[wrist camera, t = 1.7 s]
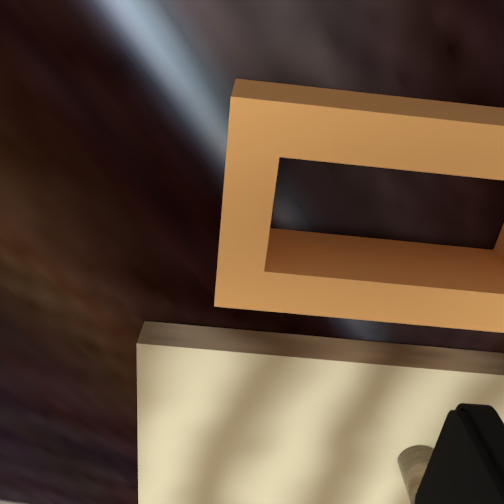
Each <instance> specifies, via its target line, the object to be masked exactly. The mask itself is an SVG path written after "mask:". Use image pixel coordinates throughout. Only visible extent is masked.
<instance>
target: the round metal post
mask: <svg viewBox="0 0 504 504" xmlns="http://www.w3.org/2000/svg"><path fill="white" fill-rule="evenodd" d="M433 450H434V449H433V448H431V447H429V446H426V445H415V446H411V447H408V448H406V449H405V450H403V451H402V452H401V453H400V455H399V456H398V465H399V468H400V471H401V475H402V478H403V481H404V485H405V488H406V491H407V494H408V498H409V501H410V504H415V496H416V493H417V490H418V488H419V485H420V483H421V480H422V478H423V475H424V473H425V470H426V468H427V465H428V462H429V460H430V457H431V455H432V452H433Z"/></svg>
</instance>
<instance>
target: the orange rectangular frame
mask: <svg viewBox="0 0 504 504" xmlns="http://www.w3.org/2000/svg"><path fill="white" fill-rule="evenodd" d="M279 157H283V158H293V159H303V160H312V161H322V162H332V163H341V164H351V165H360V166H370V167H380V168H389V169H399V170H409V171H418V172H428V173H437V174H447V175H457V176H466V177H476V178H486V179H495V180H504V108H500V107H491V106H482V105H473V104H463V103H454V102H445V101H436V100H427V99H418V98H409V97H400V96H391V95H382V94H373V93H363V92H354V91H345V90H336V89H327V88H318V87H309V86H300V85H291V84H282V83H273V82H264V81H254V80H245V79H236V80H235V83H234V87H233V90H232V94H231V100H230V113H229V126H228V138H227V151H226V163H225V176H224V188H223V201H222V213H221V226H220V238H219V251H218V263H217V276H216V288H215V301H214V306H215V307H226V308H237V309H248V310H259V311H270V312H281V313H292V314H303V315H314V316H325V317H336V318H347V319H358V320H369V321H380V322H391V323H402V324H413V325H424V326H435V327H446V328H457V329H468V330H479V331H490V332H501V333H504V223H503V226H502V228H501V231H500V234H499V236H498V239H497V242H496V244H495V247H494V249H493V250H490V249H479V248H469V247H459V246H449V245H439V244H428V243H418V242H408V241H398V240H387V239H377V238H367V237H357V236H347V235H336V234H326V233H316V232H306V231H296V230H285V229H275V228H270V224H271V217H272V209H273V202H274V194H275V187H276V179H277V172H278V164H279Z"/></svg>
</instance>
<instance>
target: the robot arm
mask: <svg viewBox="0 0 504 504" xmlns="http://www.w3.org/2000/svg"><path fill="white" fill-rule="evenodd" d="M415 504H504V423H503V421H502V420H501V418H500V416H499V415H498V413H497V411H496V410H495V409H494V408H493V407H492V406H490V405H482V404H468V403H460V404H459V405H458V406H457V407H456V409H455V410H450V411H449V412H448V414H447V417H446V419H445V422H444V424H443V427H442V429H441V432H440V434H439V437H438V440H437V442H436V445H435V447H434V450H433V452H432V455H431V457H430V460H429V462H428V465H427V468H426V470H425V473H424V475H423V478H422V480H421V483H420V485H419V488H418V490H417V493H416V496H415Z"/></svg>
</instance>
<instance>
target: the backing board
mask: <svg viewBox="0 0 504 504" xmlns="http://www.w3.org/2000/svg"><path fill="white" fill-rule="evenodd" d="M460 403H468V404H482V405H490V406H492V407H493V408H494V409H495V410H496V411H497V413H498V415H499V416H500V418H501V420H502V421H503V423H504V353H497V352H486V351H475V350H464V349H452V348H441V347H430V346H419V345H408V344H396V343H385V342H374V341H363V340H352V339H340V338H329V337H318V336H307V335H296V334H284V333H273V332H262V331H251V330H240V329H228V328H217V327H206V326H195V325H183V324H172V323H161V322H150V321H144V324H143V327H142V330H141V333H140V335H139V338H138V341H137V418H138V504H410V501H409V498H408V494H407V491H406V488H405V485H404V481H403V478H402V475H401V471H400V468H399V465H398V456H399V455H400V453H401V452H402V451H403V450H405V449H406V448H408V447H411V446H415V445H426V446H429V447H431V448H433V449H434V447H435V445H436V442H437V440H438V437H439V434H440V432H441V429H442V427H443V424H444V422H445V419H446V417H447V414H448V412H449V411H450V410H455V409H456V407H457V406H458V405H459V404H460Z"/></svg>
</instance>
